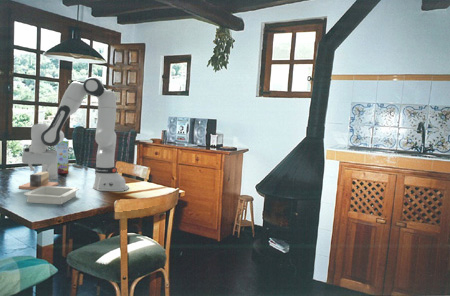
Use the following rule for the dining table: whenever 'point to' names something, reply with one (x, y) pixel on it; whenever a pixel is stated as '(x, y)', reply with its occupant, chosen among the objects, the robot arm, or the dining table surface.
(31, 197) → the white square tray
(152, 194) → the dining table surface
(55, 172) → the skincare box
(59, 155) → the snack box
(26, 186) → the terracotta tile
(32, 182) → the box
